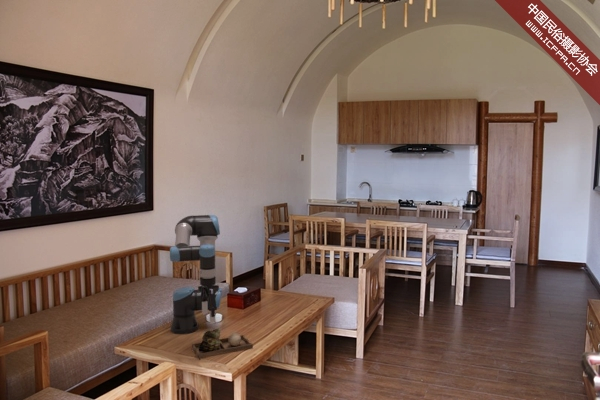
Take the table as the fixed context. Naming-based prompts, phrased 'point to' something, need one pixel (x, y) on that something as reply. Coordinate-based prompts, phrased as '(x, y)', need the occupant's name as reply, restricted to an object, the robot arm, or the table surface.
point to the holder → (223, 348)
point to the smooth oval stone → (234, 339)
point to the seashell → (210, 341)
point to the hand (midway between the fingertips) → (208, 318)
